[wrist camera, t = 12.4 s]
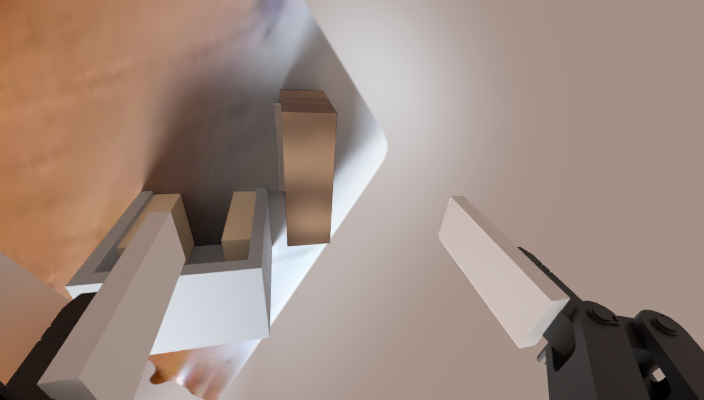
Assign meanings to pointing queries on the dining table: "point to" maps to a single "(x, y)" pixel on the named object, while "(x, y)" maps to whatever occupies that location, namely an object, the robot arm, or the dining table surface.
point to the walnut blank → (308, 164)
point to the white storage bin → (200, 272)
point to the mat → (279, 146)
